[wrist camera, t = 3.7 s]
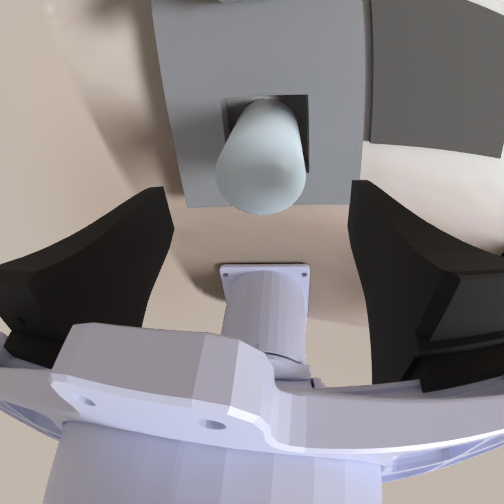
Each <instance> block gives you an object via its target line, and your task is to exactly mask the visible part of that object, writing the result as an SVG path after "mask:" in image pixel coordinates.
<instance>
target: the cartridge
mask: <svg viewBox="0 0 504 504" xmlns="http://www.w3.org/2000/svg"><path fill="white" fill-rule="evenodd" d="M215 179H216V183H217V186H218V189H219V191H220V192H221V194H222V195H223V197H224V198H225V199H226V200H227V201H228V202H229V203H230V204H231V205H232V206H234V207H235V208H237V209H239V210H241V211H244V212H246V213H250V214H255V215H269V214H274V213H278V212H280V211H283V210H285V209H286V208H288V207H289V206H291V205H292V204H293V203H294V202H295V201H296V200H297V199H298V198H299V196H300V195H301V193H302V191H303V189H304V186H305V181H306V171H305V164H304V158H303V152H302V146H301V140H300V134H299V129H298V123H297V119H296V117H295V115H294V113H293V111H292V110H291V109H290V108H289V107H288V106H287V105H285V104H284V103H282V102H280V101H277V100H274V99H261V100H257V101H255V102H253V103H251V104H250V105H248V106H247V107H246V108H245V109H244V110H243V112H242V113H241V115H240V117H239V119H238V121H237V123H236V125H235V126H234V128H233V130H232V132H231V134H230V136H229V138H228V140H227V142H226V144H225V146H224V148H223V150H222V152H221V154H220V156H219V158H218V160H217V163H216V168H215Z"/></svg>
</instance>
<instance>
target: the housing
mask: <svg viewBox="0 0 504 504" xmlns="http://www.w3.org/2000/svg"><path fill="white" fill-rule="evenodd" d="M150 1H151V9H152V17H153V24H154V32H155V39H156V46H157V52H158V59H159V65H160V72H161V78H162V84H163V89H164V95H165V101H166V106H167V112H168V117H169V123H170V128H171V133H172V138H173V143H174V148H175V153H176V158H177V163H178V168H179V172H180V177H181V182H182V186H183V191H184V195H185V200H186V204H187V208H199V207H222V206H232V205H231V204H230V203H229V202H228V201H227V200H226V199H225V198H224V197H223V195H222V194H221V192H220V191H219V189H218V186H217V183H216V179H215V168H216V163H217V160H218V158H219V156H220V154H221V152H222V150H223V148H224V146H225V144H226V142H227V140H228V138H229V136H230V129H229V120H228V112H227V104H226V98H236V97H249V96H267V95H306V117H307V161H304V164H305V171H306V181H305V186H304V189H303V191H302V193H301V195H300V196H299V198H298V199H297V200H296V201H295V202H294V203H293V204H292V205H303V204H350V196H351V185H352V180H360V170H361V158H362V144H363V127H364V103H365V38H364V16H363V0H150Z"/></svg>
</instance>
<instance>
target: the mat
mask: <svg viewBox="0 0 504 504" xmlns="http://www.w3.org/2000/svg"><path fill="white" fill-rule="evenodd" d="M370 15H371V39H372V92H371V118H370V135H369V142H370V143H375V144H390V145H403V146H415V147H425V148H434V149H442V150H450V151H458V152H465V153H471V154H477V155H483V156H489V157H495V158H500V157H501V153H502V148H503V144H504V16H503V15H501V14H499V13H497V12H494V11H492V10H490V9H488V8H485V7H483V6H480V5H478V4H475V3H473V2H470V1H467V0H370Z"/></svg>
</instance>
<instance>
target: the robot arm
mask: <svg viewBox="0 0 504 504" xmlns="http://www.w3.org/2000/svg"><path fill="white" fill-rule="evenodd" d="M347 226H348V232H349V239H350V245H351V249H352V253H353V256H354V260H355V263H356V266H357V270H358V273H359V277H360V280H361V284H362V288H363V291H364V296H365V300H366V306H367V314H368V322H369V331H370V342H371V358H372V385H362V386H348V387H326V386H325V385H324V384H323V383H322V381H321V380H320V379H319V378H311V367H310V365H306V333H305V329H306V321H307V309H308V295H309V280H310V266H309V265H307V264H224V265H221V267H220V276H221V280H222V285H223V290H224V294H225V299H226V303H227V305H226V311H225V316H224V321H223V326H222V332H221V335H218V334H214V333H208V332H192V331H176V330H163V329H149V328H142V323H143V319H144V314H145V311H146V307H147V303H148V300H149V297H150V294H151V291H152V289H153V286H154V284H155V282H156V279H157V277H158V274H159V272H160V269H161V267H162V265H163V263H164V260H165V258H166V255H167V253H168V251H169V248H170V244H171V241H172V236H173V232H174V226H173V222H172V218H171V214H170V211H169V207H168V203H167V199H166V195H165V191H164V188H163V186H162V187H151V188H148V189H145V190H143V191H141V192H140V193H138V194H136V195H135V196H133V197H131V198H130V199H128V200H127V201H125V202H124V203H122V204H121V205H119V206H118V207H116V208H115V209H113V210H112V211H110V212H109V213H107V214H106V215H104V216H103V217H101V218H99V219H98V220H96V221H95V222H93V223H92V224H90V225H88V226H87V227H85V228H84V229H82V230H80V231H78V232H76V233H75V234H73V235H71V236H69V237H67V238H65V239H63V240H61V241H59V242H57V243H55V244H53V245H51V246H49V247H46V248H44V249H42V250H40V251H37V252H34V253H32V254H29V255H27V256H24V257H22V258H18V259H15V260H13V261H9V262H6V263H3V264H1V265H0V317H1V318H2V319H3V321H4V322H5V323H6V324H7V325H8V327H9V328H10V329H11V330H12V331H11V333H10V334H9V336H7V335H5V334H4V333H2V332H0V410H1V411H3V412H4V413H6V414H8V415H10V416H11V417H13V418H15V419H17V420H19V421H20V422H22V423H24V424H26V425H28V426H30V427H32V428H34V429H35V430H37V431H39V432H41V433H43V434H45V435H47V436H49V437H51V438H53V439H56V440H58V441H59V445H58V448H57V451H56V455H55V458H54V461H53V465H52V468H51V472H50V476H49V479H48V483H47V488H46V491H45V496H44V500H43V504H382V483H384V482H390V481H395V480H399V479H404V478H408V477H412V476H416V475H420V474H424V473H427V472H431V471H434V470H438V469H441V468H444V467H447V466H450V465H453V464H457V463H459V462H462V461H465V460H468V459H471V458H473V457H476V456H479V455H481V454H484V453H486V452H489V451H491V450H494V449H496V448H499V447H501V446H503V445H504V257H501V256H498V255H495V254H492V253H489V252H486V251H484V250H481V249H479V248H477V247H474V246H472V245H470V244H467V243H465V242H463V241H461V240H459V239H457V238H455V237H453V236H451V235H449V234H447V233H445V232H443V231H441V230H440V229H438V228H436V227H435V226H433V225H431V224H430V223H428V222H426V221H425V220H423V219H421V218H420V217H418V216H417V215H415V214H414V213H413V212H411V211H410V210H408V209H407V208H405V207H404V206H403V205H401V204H400V203H399V202H397V201H396V200H395V199H393V198H392V197H391V196H389V195H388V194H387V193H385V192H384V191H383V190H381V189H380V188H379V187H377V186H376V185H374V184H373V183H371V182H370V181H368V180H352V185H351V196H350V206H349V216H348V225H347ZM224 273H227V274H224ZM302 273H306V274H302Z"/></svg>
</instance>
